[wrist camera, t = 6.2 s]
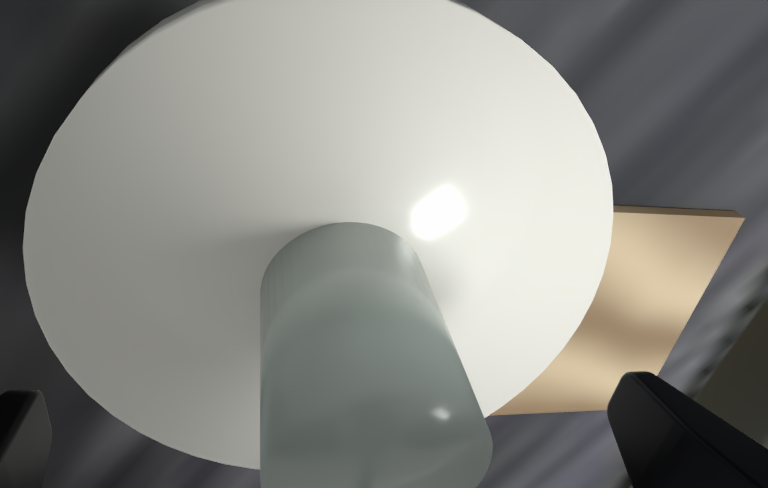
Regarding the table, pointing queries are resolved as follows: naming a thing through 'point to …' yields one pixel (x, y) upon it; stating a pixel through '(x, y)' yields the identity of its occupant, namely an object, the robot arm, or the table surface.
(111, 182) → the lid
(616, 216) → the mat
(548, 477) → the table surface
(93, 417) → the table surface
